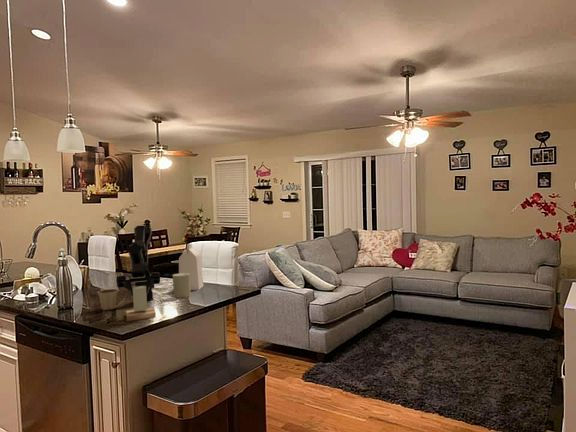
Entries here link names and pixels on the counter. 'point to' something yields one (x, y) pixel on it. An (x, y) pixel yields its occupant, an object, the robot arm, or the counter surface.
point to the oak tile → (140, 314)
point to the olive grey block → (181, 285)
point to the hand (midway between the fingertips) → (139, 295)
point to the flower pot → (108, 298)
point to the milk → (192, 267)
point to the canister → (139, 298)
